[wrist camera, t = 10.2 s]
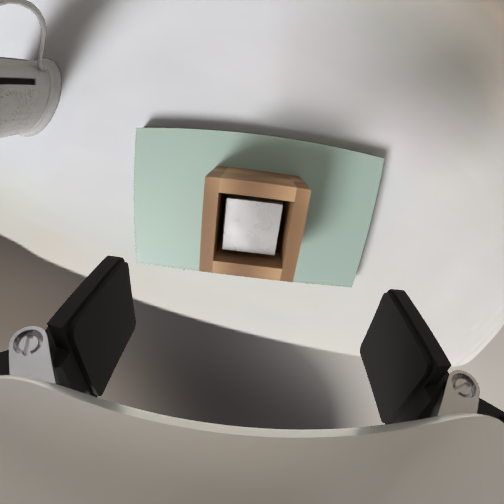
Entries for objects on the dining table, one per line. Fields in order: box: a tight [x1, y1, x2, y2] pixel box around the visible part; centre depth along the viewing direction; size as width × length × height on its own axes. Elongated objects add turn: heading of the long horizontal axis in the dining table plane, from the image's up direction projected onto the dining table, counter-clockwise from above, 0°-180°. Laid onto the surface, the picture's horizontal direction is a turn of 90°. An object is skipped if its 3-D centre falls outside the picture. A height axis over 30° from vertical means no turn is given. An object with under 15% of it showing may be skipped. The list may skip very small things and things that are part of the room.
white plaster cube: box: [222, 194, 283, 255], centre depth 21 cm, size 4×4×4 cm
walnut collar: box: [199, 166, 311, 282], centre depth 20 cm, size 6×6×5 cm
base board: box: [134, 128, 384, 287], centre depth 23 cm, size 20×12×2 cm, turn 83°
